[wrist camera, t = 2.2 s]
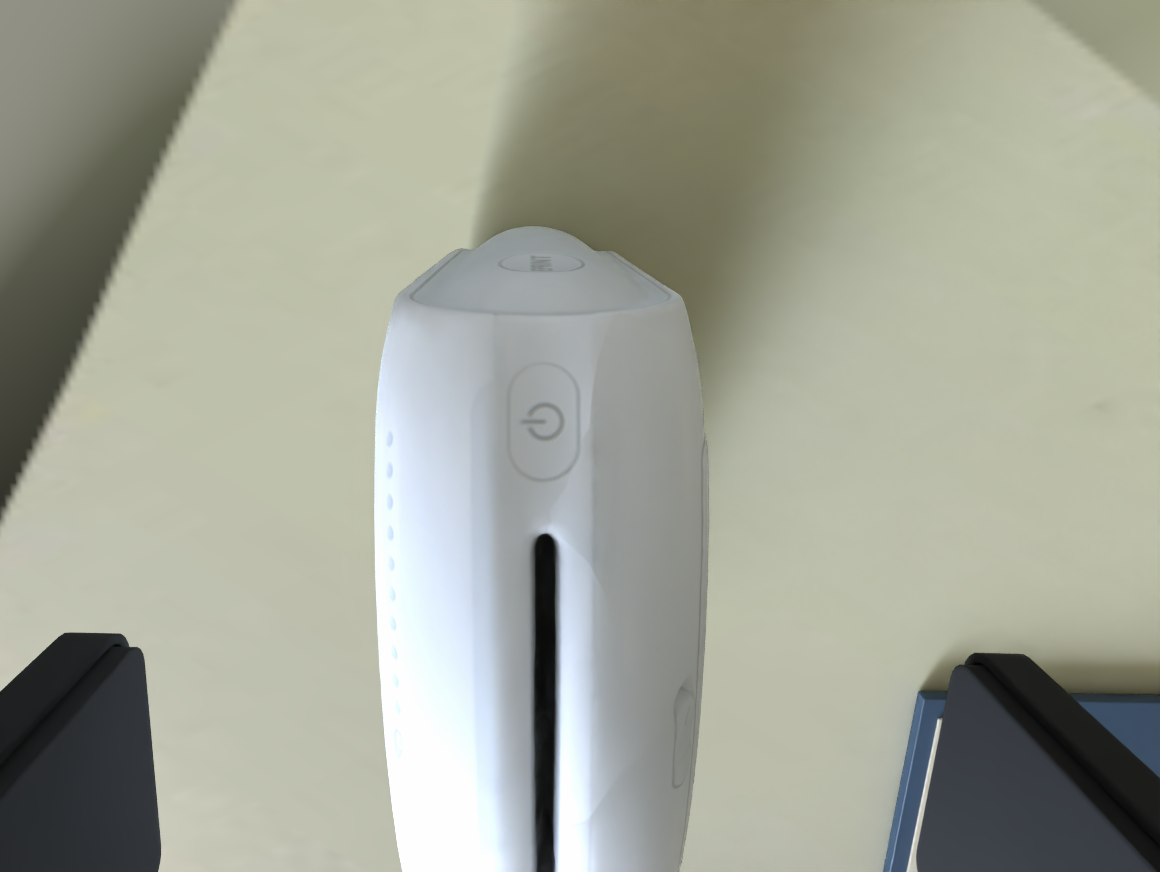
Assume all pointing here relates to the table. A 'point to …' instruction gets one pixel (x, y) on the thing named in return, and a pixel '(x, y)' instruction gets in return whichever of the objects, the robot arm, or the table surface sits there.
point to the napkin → (1137, 721)
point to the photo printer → (540, 561)
